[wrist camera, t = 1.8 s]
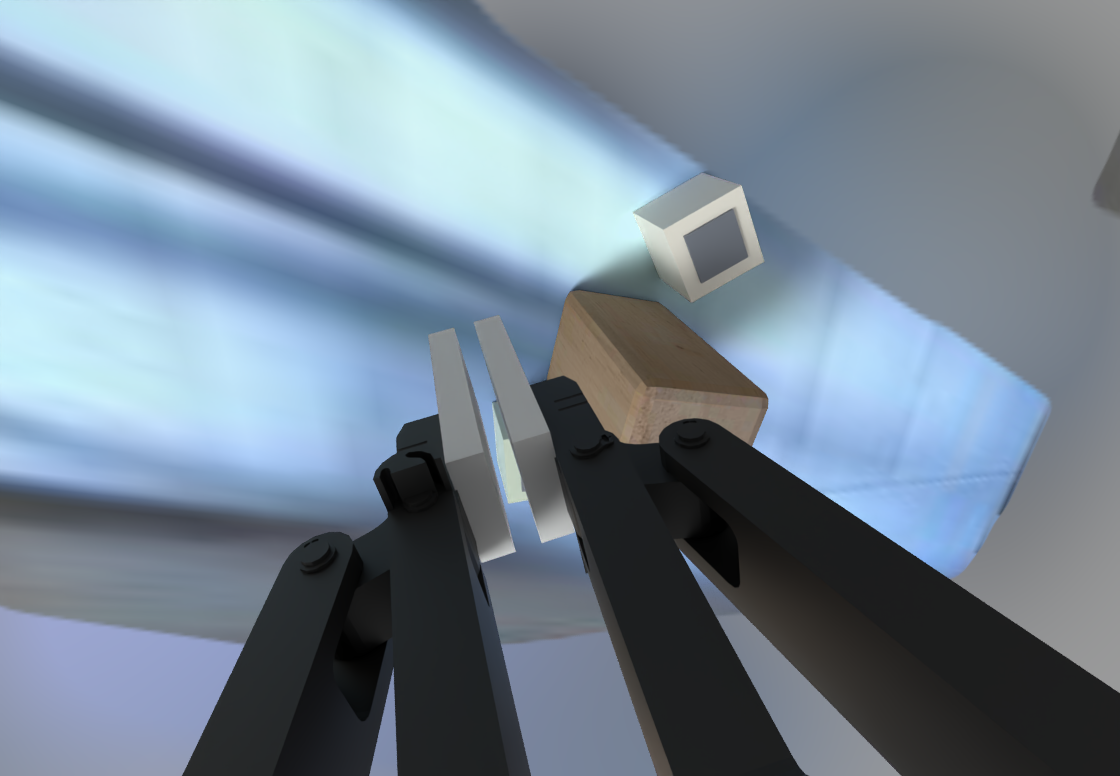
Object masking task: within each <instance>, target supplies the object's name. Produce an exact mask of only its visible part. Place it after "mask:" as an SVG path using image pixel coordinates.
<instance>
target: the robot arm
mask: <svg viewBox="0 0 1120 776" xmlns="http://www.w3.org/2000/svg"><path fill="white" fill-rule="evenodd" d="M474 325H475V328H476V331H477V335H478V338H479V342H480V345H481V348H482V352H483V355H484V359H485V362H486V366H487V369H488V372H489V376H490V379H491V383H492V386H493V389H494V393H495V396H496V400H497V403H498V406H499V409H500V412H501V416H502V419H503V422H504V425H505V428H506V431H507V435H508V438H509V441H510V444H511V447H512V450H513V454H514V457H515V460H516V463H517V466H518V469H519V473H520V476H521V479H522V482H523V485H524V488H525V492H526V495H527V498H528V501H529V504H530V507H531V511H532V514H533V517H534V520H535V523H536V526H537V530H538V533H539V536H540V539H541V542H542V543H543V542H547V541H550V540H553V539H556V538H559V537H562V536H565V535H568V534H571V533H574V532H575V531H576V535H577V539H578V543H579V547H580V551H581V555H582V559H583V564H584V568H585V572H586V573H588V574H589V577H590V580H591V583H592V586H593V589H594V592H595V594H596V597H597V600H598V603H599V606H600V609H601V612H602V615H603V618H604V621H605V624H606V627H607V630H608V633H609V635H610V638H611V641H612V644H613V647H614V650H615V653H616V656H617V659H618V662H619V665H620V668H621V670H622V674H623V676H624V679H625V682H626V685H627V688H628V691H629V694H630V697H631V700H632V703H633V705H634V708H635V712H636V715H637V717H638V720H639V723H640V726H641V729H642V732H643V735H644V738H645V741H646V744H647V747H648V750H649V752H650V756H651V758H652V761H653V764H654V767H655V770H656V773H657V776H808V775H806V774H805V773H804V772H803V771H802V770H801V769H800V768H799V766H798V765H797V763H796V761H795V760H794V758H793V756H792V755H791V753H790V751H789V749H788V747H787V746H786V744H785V742H784V740H783V738H782V736H781V735H780V733H779V731H778V729H777V727H776V725H775V724H774V722H773V720H772V718H771V716H770V714H769V713H768V711H767V709H766V707H765V705H764V704H763V702H762V700H761V698H760V696H759V694H758V692H757V691H756V689H755V687H754V685H753V684H752V682H751V680H750V678H749V676H748V674H747V672H746V671H745V669H744V667H743V665H742V663H741V661H740V660H739V658H738V656H737V654H736V652H735V651H734V649H733V647H732V645H731V643H730V641H729V640H728V638H727V636H726V634H725V632H724V630H723V629H722V627H721V625H720V623H719V621H718V619H717V618H716V616H715V614H714V612H713V610H712V608H711V607H710V605H709V603H708V601H707V599H706V598H705V596H704V594H703V592H702V590H701V588H700V587H699V585H698V583H697V581H696V579H695V577H694V576H693V574H692V572H691V570H690V568H689V566H688V565H687V563H686V561H685V559H684V557H683V556H682V554H681V552H680V550H681V551H682V552H683V553H684V554H685V555H686V557H687V558H688V559H689V560H690V561H691V562H692V563H693V564H694V565H695V566H696V567H697V568H698V569H699V570H700V571H701V572H702V573H703V574H704V575H705V576H706V577H707V578H708V579H709V580H710V581H711V582H712V583H713V584H714V585H715V586H716V587H717V588H718V589H719V590H720V591H721V592H722V593H723V594H724V595H725V596H726V597H727V598H728V599H729V600H730V601H731V602H732V603H733V604H734V605H735V606H736V608H737V609H738V610H739V611H740V612H741V613H742V614H743V615H744V616H746V618H747V619H748V620H749V621H750V622H751V623H753V625H754V626H755V627H756V628H757V629H758V630H759V631H760V632H761V633H762V634H763V635H764V636H765V637H766V638H767V639H768V640H769V641H770V642H771V643H772V644H773V645H774V646H775V647H776V648H777V649H778V650H779V651H780V652H781V653H782V654H783V655H784V656H785V657H786V659H788V660H789V662H791V664H792V665H793V666H794V667H795V668H796V669H797V670H798V671H799V672H800V673H801V674H802V675H803V676H804V677H805V678H806V679H807V680H808V681H809V682H810V683H811V684H812V685H813V686H814V687H815V688H816V689H817V690H818V691H819V692H820V693H821V694H822V695H823V696H824V697H825V698H826V699H827V700H828V701H829V702H830V703H831V704H832V705H833V706H834V707H835V708H836V709H837V710H838V712H839V713H840V714H841V715H842V716H843V717H844V718H846V720H847V721H848V722H849V723H850V724H851V725H852V726H853V727H854V728H855V729H856V730H857V731H858V732H859V733H860V734H861V735H862V736H863V737H864V738H865V739H866V740H867V741H868V742H869V743H870V744H871V745H872V746H873V747H874V748H875V749H876V750H877V751H878V752H879V753H880V754H881V755H882V756H883V757H884V758H885V759H886V760H887V762H888V763H889V764H890V765H891V766H892V767H893V768H894V769H896V771H897V772H898V773H899V774H900V775H901V776H1120V693H1119V692H1117V691H1116V690H1114V689H1112V688H1111V687H1110V686H1108V685H1107V684H1105V683H1104V682H1102V681H1101V680H1099V679H1098V678H1096V677H1095V676H1093V675H1091V674H1090V673H1089V672H1087V671H1086V670H1084V669H1083V668H1081V667H1080V666H1078V665H1077V664H1075V663H1074V662H1072V661H1071V660H1069V659H1068V658H1066V657H1065V656H1063V655H1062V654H1060V653H1059V652H1057V651H1056V650H1054V649H1053V648H1051V647H1050V646H1049V645H1047V644H1045V643H1044V642H1043V641H1041V640H1039V639H1038V638H1037V637H1035V636H1034V635H1032V634H1031V633H1029V632H1028V631H1026V630H1025V629H1023V628H1022V627H1020V626H1019V625H1017V624H1015V623H1014V622H1013V621H1011V620H1010V619H1008V618H1007V617H1005V616H1004V615H1002V614H1001V613H999V612H998V611H996V610H995V609H993V608H992V607H990V606H989V605H987V604H986V603H984V602H982V601H981V600H980V599H978V598H977V597H975V596H974V595H972V594H971V593H969V592H968V591H967V590H965V589H963V588H962V587H961V586H959V585H958V584H956V583H955V582H953V581H952V580H950V579H949V578H947V577H946V576H944V575H943V574H941V573H940V572H938V571H937V570H935V569H934V568H932V567H931V566H929V565H928V564H926V563H925V562H923V561H922V560H920V559H919V558H917V557H916V556H914V555H913V554H911V553H910V552H908V551H907V550H905V549H904V548H902V547H901V546H899V545H898V544H896V543H895V542H893V541H892V540H890V539H889V538H887V537H886V536H884V535H883V534H881V533H880V532H879V531H877V530H876V529H874V528H873V527H871V526H870V525H868V524H867V523H865V522H864V521H862V520H861V519H859V518H858V517H856V516H855V515H853V514H852V513H850V512H849V511H847V510H846V509H844V508H843V507H841V506H840V505H838V504H837V503H835V502H834V501H832V500H831V499H829V498H828V497H826V496H825V495H823V494H822V493H820V492H819V491H817V490H816V489H814V488H813V487H811V486H810V485H808V484H807V483H805V482H804V481H802V480H801V479H799V478H798V477H796V476H795V475H794V474H792V473H791V472H789V471H788V470H786V469H785V468H783V467H782V466H780V465H779V464H777V463H776V462H774V461H773V460H771V459H770V458H768V457H767V456H765V455H764V454H762V453H761V452H759V451H758V450H756V449H755V448H753V447H752V446H750V445H749V444H747V443H746V442H744V441H743V440H741V439H740V438H738V437H737V436H735V435H734V434H732V433H731V432H729V431H728V430H726V429H725V428H723V427H722V426H720V425H719V424H717V423H715V422H712V421H710V420H707V419H700V418H690V419H682V420H679V421H676V422H673V423H671V424H670V425H668V426H667V427H665V428H664V429H663V430H662V432H661V433H660V435H659V443H649V444H628V443H623V442H620V440H619V439H618V438H617V437H616V436H615V435H614V434H613V433H611V432H609V431H606V430H605V429H604V428H603V426H602V424H601V423H600V421H599V419H598V417H597V416H596V414H595V412H594V411H593V409H592V407H591V406H590V404H589V403H588V401H587V399H586V397H585V396H584V394H583V392H582V391H581V389H580V387H579V385H578V384H577V382H575V381H573V380H571V379H570V378H568V377H566V376H564V375H563V376H560V377H556V378H553V379H549V380H546V381H543V382H539V383H536V384H533V385H529V383H528V380H527V378H526V376H525V373H524V371H523V369H522V367H521V364H520V362H519V360H518V357H517V355H516V353H515V351H514V348H513V346H512V344H511V341H510V339H509V337H508V334H507V332H506V330H505V328H504V325H503V323H502V321H501V318H500V316H499V315H498V316H494V317H490V318H487V319H483V320H480V321H476V322H474ZM428 337H429V344H430V352H431V360H432V367H433V375H434V382H435V390H436V397H437V405H438V413H439V414H436V415H433V416H430V417H426V418H423V419H420V420H416V421H413V422H409V423H406V424H404V426H403V427H402V429H401V431H400V432H399V434H398V436H397V437H396V447H397V454H395V455H393V456H391V457H390V458H388V459H387V460H386V461H384V462H383V463H382V464H381V465H380V466H379V468H378V469H377V470H376V471H375V475H374V478H373V480H374V482H375V485H376V487H377V489H378V491H379V493H380V496H381V498H382V500H383V502H384V504H385V507H386V509H387V511H388V518H387V519H386V520H385V521H384V522H383V523H382V524H381V525H379V526H378V527H377V528H375V529H374V530H372V531H370V532H369V533H367V534H365V535H363V536H362V537H360V538H358V539H356V540H354V541H352V540H351V538H350V537H349V535H347V534H344V533H342V532H328V533H324V534H321V535H318V536H315V537H313V538H311V539H309V540H308V541H306V542H304V543H302V544H301V545H300V546H299V547H298V548H296V549H295V550H294V551H293V552H292V553H291V554H290V555H289V557H288V558H287V560H286V561H285V563H284V564H283V566H282V568H281V570H280V573H279V575H278V577H277V579H276V581H275V583H274V585H273V587H272V589H271V591H270V593H269V596H268V598H267V600H266V602H265V604H264V606H263V608H262V610H261V612H260V614H259V616H258V618H257V621H256V623H255V625H254V627H253V629H252V631H251V633H250V635H249V637H248V639H247V641H246V644H245V646H244V648H243V650H242V652H241V654H240V656H239V658H238V660H237V662H236V665H235V667H234V669H233V671H232V673H231V675H230V677H229V679H228V681H227V684H226V686H225V687H224V690H223V692H222V694H221V696H220V698H219V700H218V702H217V704H216V706H215V708H214V711H213V713H212V715H211V717H210V719H209V721H208V723H207V725H206V727H205V729H204V731H203V733H202V736H201V738H200V740H199V742H198V744H197V746H196V748H195V750H194V752H193V754H192V756H191V759H190V761H189V763H188V765H187V767H186V769H185V771H184V773H183V775H182V776H369V774H370V769H371V765H372V761H373V756H374V752H375V747H376V743H377V738H378V733H379V729H380V725H381V720H382V716H383V711H384V707H385V703H386V698H387V694H388V689H389V684H390V680H391V675H392V671H393V667H394V690H395V716H396V742H397V768H398V776H531V773H530V769H529V765H528V760H527V756H526V752H525V747H524V743H523V739H522V735H521V730H520V726H519V721H518V717H517V713H516V708H515V704H514V699H513V695H512V691H511V686H510V682H509V678H508V673H507V669H506V665H505V660H504V656H503V651H502V647H501V643H500V638H499V634H498V630H497V625H496V621H495V617H494V612H493V608H492V604H491V599H490V595H489V590H488V586H487V582H486V578H485V576H484V573H483V570H482V568H481V565H480V561H479V557H480V559H481V562H482V563H483V562H486V561H489V560H492V559H495V558H498V557H501V556H504V555H507V554H510V553H513V552H516V551H515V547H514V543H513V539H512V535H511V532H510V528H509V524H508V520H507V516H506V512H505V508H504V504H503V500H502V496H501V492H500V488H499V485H498V481H497V477H496V473H495V469H494V465H493V461H492V457H491V453H490V449H489V445H488V441H487V437H486V434H485V430H484V426H483V422H482V418H481V414H480V410H479V406H478V403H477V400H476V397H475V393H474V390H473V387H472V384H471V381H470V377H469V374H468V371H467V368H466V365H465V361H464V358H463V355H462V352H461V349H460V346H459V342H458V339H457V336H456V333H455V330H454V328H451V329H448V330H444V331H440V332H437V333H433V334H430V335H428ZM573 526H574V527H573ZM574 528H575V531H574ZM679 549H680V550H679ZM478 554H479V555H478Z"/></svg>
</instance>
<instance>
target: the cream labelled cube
mask: <svg viewBox="0 0 1120 776" xmlns="http://www.w3.org/2000/svg"><path fill="white" fill-rule="evenodd" d="M633 214H634V217H635V219H636V222H637V224H638V226H639V229H640V231H641V234H642V236H643V239H644V241H645V243H646V246H647V248H648V251H649V253H650V256H651V258H652V260H653V263H654V265H655V268H656V270H657V273H658V275H659V277H660V279H661V280H662V281H664V282H665V283H666V284H668V285H669V286H670V287H672V288H673V289H674V290H675V291H677V292H678V293H679V294H681V295H682V296H683V297H685V298H686V299H687V300H688V301H690V302H691V303H692V302H694V301H696V300H698V299H699V298H701V297H703V296H705V295H706V294H708V293H710V292H712V291H714V290H715V289H717V288H719V287H721V286H722V285H724V284H726V283H728V282H729V281H731V280H733V279H735V278H736V277H738V276H740V275H742V274H743V273H745V272H747V271H749V270H751V269H752V268H754V267H756V266H758V265H759V264H761V263H763V262H764V259H763V255H762V252H761V249H760V245H759V242H758V239H757V235H756V232H755V229H754V225H753V222H752V219H751V215H750V212H749V209H748V205H747V202H746V199H745V195H744V192H743V189H742V185H739V184H736V183H733V182H730V181H727V180H724V179H721V178H717V177H714V176H711V175H708V174H705V173H700V174H699V175H697V176H695V177H693V178H692V179H690V180H688V181H686V182H685V183H683V184H681V185H679V186H678V187H676V188H674V189H672V190H671V191H669V192H667V193H665V194H664V195H662V196H660V197H658V198H657V199H655V200H653V201H651V202H650V203H648V204H646V205H644V206H643V207H641V208H639V209H637V210H636V211H634V212H633Z"/></svg>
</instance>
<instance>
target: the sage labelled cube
mask: <svg viewBox="0 0 1120 776" xmlns="http://www.w3.org/2000/svg"><path fill="white" fill-rule="evenodd" d="M492 407H493V418H494V429H495V441H496V452H497V462H498V466H499V470H500V473H501V477H502V481H503V485H504V489H505V492H506V496H507V500H508V504H509V503H514V502H520V501H526V500H528V498H527V495H526V492H525V488H524V485H523V482H522V479H521V476H520V473H519V469H518V466H517V463H516V460H515V457H514V454H513V450H512V447H511V444H510V441H509V438H508V435H507V431H506V428H505V425H504V422H503V419H502V416H501V412H500V409H499V406H498V403H497V402H492Z"/></svg>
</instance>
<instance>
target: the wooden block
mask: <svg viewBox="0 0 1120 776" xmlns="http://www.w3.org/2000/svg"><path fill="white" fill-rule="evenodd" d="M563 375H564V376H566V377H568V378H570V379H571V380H573V381H575V382H577V384H578V385H579V387H580V389H581V391H582V392H583V394H584V396H585V397H586V399H587V401H588V403H589V404H590V406H591V407H592V409H593V411H594V412H595V414H596V416H597V417H598V419H599V421H600V423H601V424H602V426H603V428H604V429H605V430H606V431H609V432H611V433H613V434H614V435H615V436H616V437H617V438H618V439H619V440H620V442H623V443H628V444H649V443H659V435H660V433H661V432H662V430H663V429H664V428H665V427H667V426H668V425H670V424H671V423H673V422H676V421H679V420H682V419H690V418H700V419H707V420H710V421H712V422H715V423H717V424H719V425H720V426H722V427H723V428H725V429H726V430H728V431H729V432H731V433H732V434H734V435H735V436H737V437H738V438H740V439H741V440H743V441H744V442H746V443H747V444H749V445H750V446H752V445H753V443H754V440H755V438H756V435H757V433H758V431H759V428H760V426H761V423H762V421H763V418H764V416H765V414H766V411H767V409H768V397H767V395H766V393H764V392H763V391H762V390H761V389H760V388H759V387H758V386H756V385H755V384H754V383H753V382H752V381H751V380H749V379H748V378H747V377H746V376H745V375H744V374H742V373H741V372H740V371H739V370H738V369H737V368H735V367H734V366H733V365H732V364H731V363H730V362H728V361H727V360H726V359H725V358H724V357H723V356H721V355H720V354H719V353H718V352H717V351H716V350H714V349H713V348H712V347H711V346H710V345H709V344H707V343H706V342H705V341H704V340H703V339H702V338H700V337H699V336H698V335H697V334H696V333H695V332H693V331H692V330H691V329H690V328H689V327H688V326H686V325H685V324H684V323H683V322H682V321H681V320H680V319H678V318H677V317H676V316H675V315H674V314H673V313H671V312H670V311H669V310H668V309H667V308H666V307H664V306H663V305H662V304H660V303H659V302H653V301H647V300H640V299H634V298H627V297H621V296H614V295H608V294H601V293H595V292H588V291H582V290H577V291H571V292H569V294H568V296H567V297H566V300H565V304H564V308H563V312H562V317H561V321H560V325H559V329H558V334H557V338H556V342H555V346H554V351H553V355H552V359H551V363H550V367H549V372H548V376H547V380H549V379H553V378H556V377H560V376H563Z"/></svg>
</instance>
